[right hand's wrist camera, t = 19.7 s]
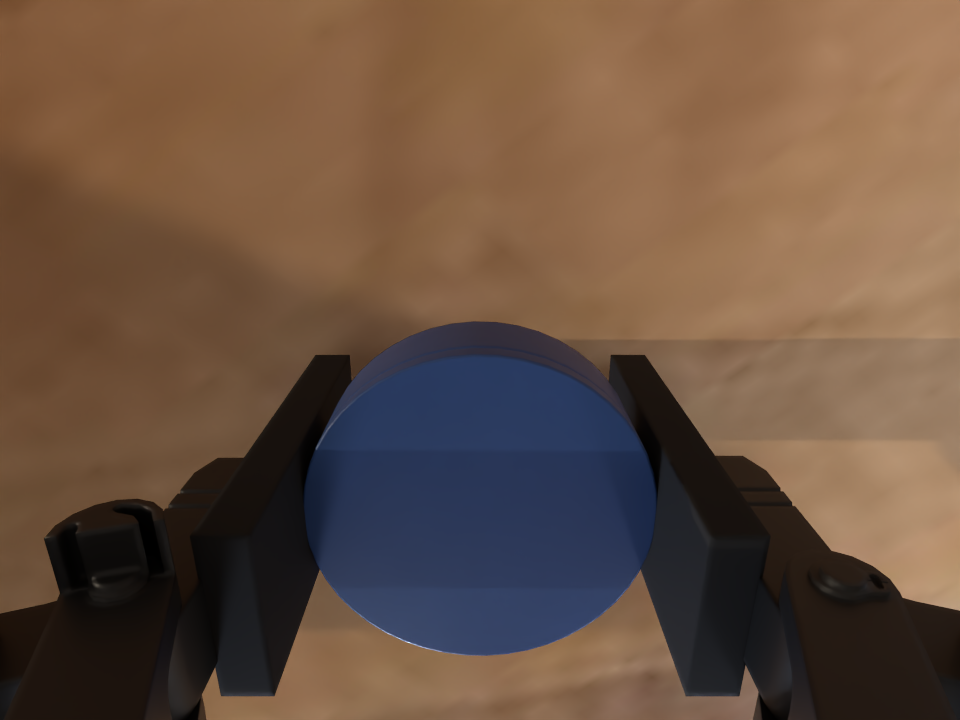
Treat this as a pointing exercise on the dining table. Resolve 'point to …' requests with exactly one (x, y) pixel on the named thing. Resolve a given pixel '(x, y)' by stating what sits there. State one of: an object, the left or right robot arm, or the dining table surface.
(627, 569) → the lid
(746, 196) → the dining table surface
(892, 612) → the right robot arm
